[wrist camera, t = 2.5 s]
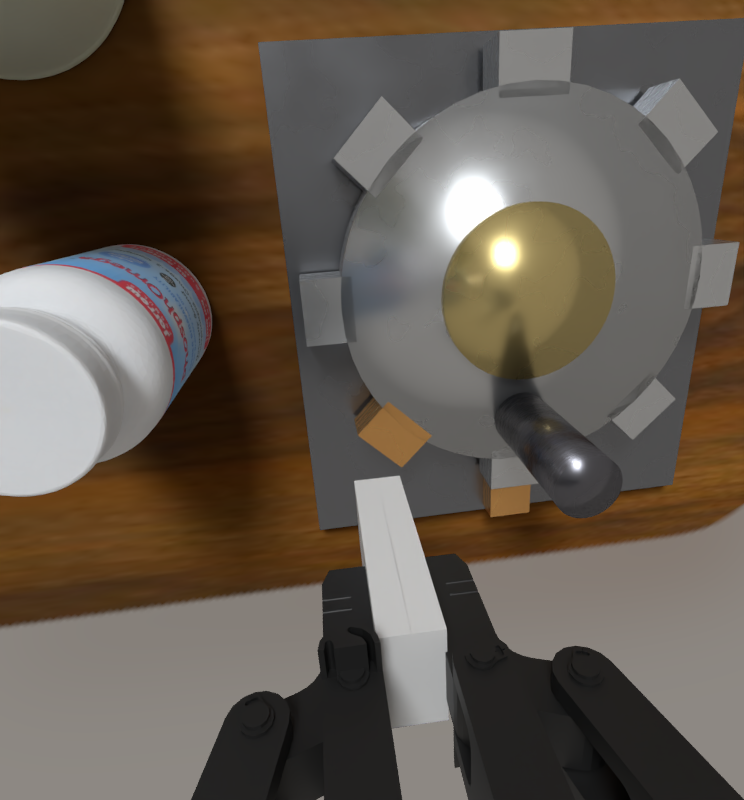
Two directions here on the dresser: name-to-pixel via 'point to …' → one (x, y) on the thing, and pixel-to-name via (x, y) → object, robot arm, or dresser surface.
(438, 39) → the base plate
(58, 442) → the pill bottle
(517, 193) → the sprocket
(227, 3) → the dresser surface
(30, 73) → the pale green cylinder
